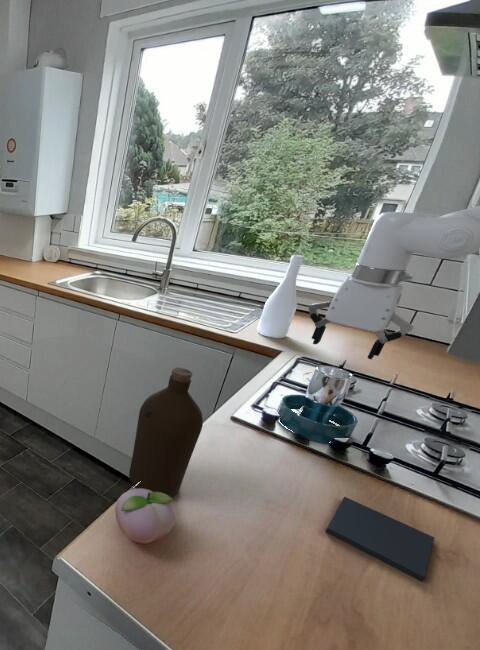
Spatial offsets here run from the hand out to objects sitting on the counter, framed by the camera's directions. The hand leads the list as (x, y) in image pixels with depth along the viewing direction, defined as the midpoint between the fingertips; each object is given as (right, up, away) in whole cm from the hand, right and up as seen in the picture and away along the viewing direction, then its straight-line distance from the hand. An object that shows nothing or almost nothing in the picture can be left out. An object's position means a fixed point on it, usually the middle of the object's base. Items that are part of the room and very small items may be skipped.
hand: (342, 349), depth 92 cm
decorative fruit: (-56, -32, -22) cm, 68 cm away
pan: (0, -19, +8) cm, 21 cm away
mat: (-14, -32, -21) cm, 41 cm away
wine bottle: (+32, +6, +65) cm, 73 cm away
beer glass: (0, -19, +8) cm, 21 cm away
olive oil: (-47, -27, -10) cm, 55 cm away
